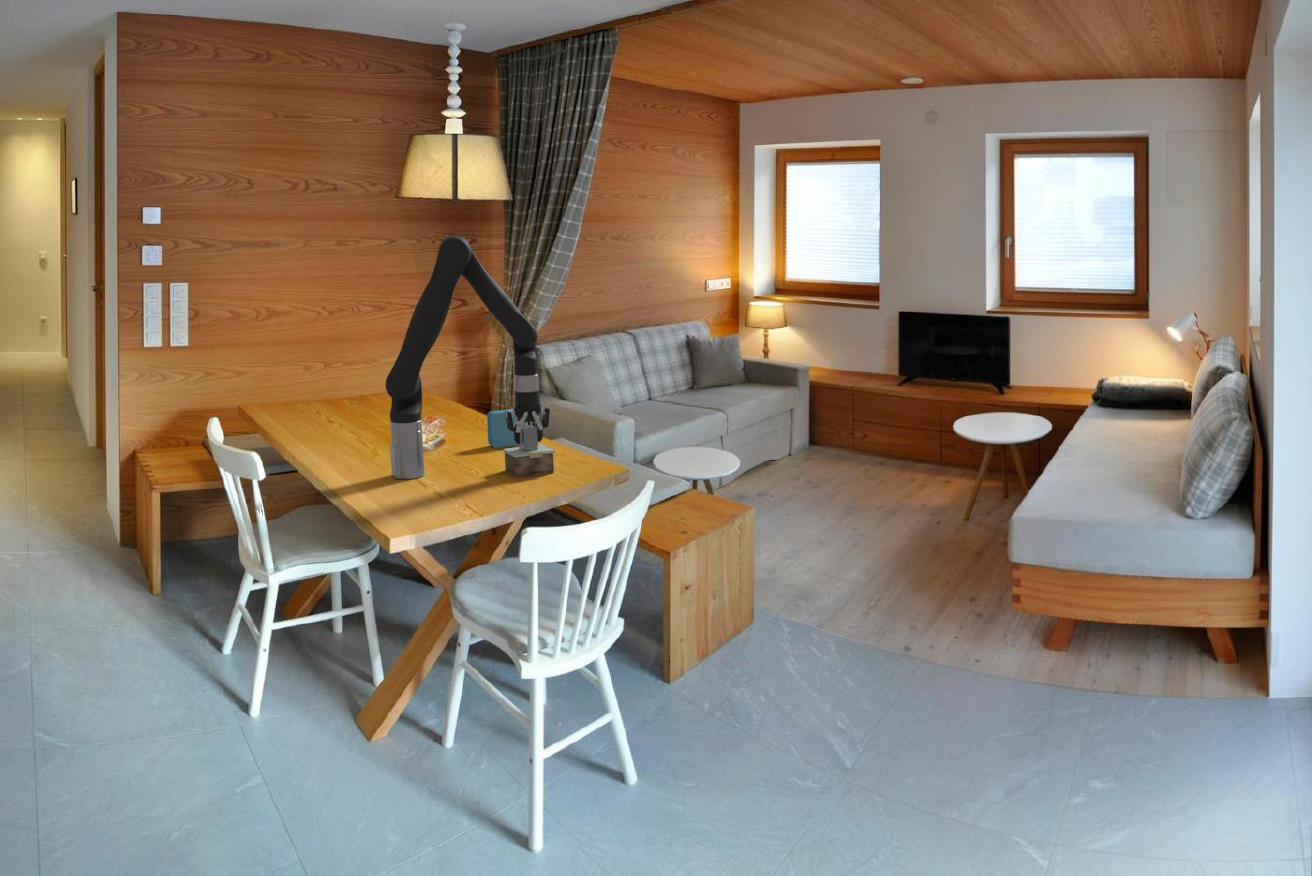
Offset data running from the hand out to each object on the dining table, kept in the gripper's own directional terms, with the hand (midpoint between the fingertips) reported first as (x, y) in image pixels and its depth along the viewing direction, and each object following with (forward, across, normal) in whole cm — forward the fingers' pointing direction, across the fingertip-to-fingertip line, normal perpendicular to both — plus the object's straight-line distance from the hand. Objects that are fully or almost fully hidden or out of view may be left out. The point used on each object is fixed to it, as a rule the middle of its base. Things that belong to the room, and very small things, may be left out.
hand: (528, 442), depth 321 cm
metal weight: (+2, 0, 0) cm, 2 cm away
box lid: (+4, 0, -1) cm, 4 cm away
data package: (+9, +6, +37) cm, 39 cm away
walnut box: (+9, 0, 0) cm, 9 cm away
